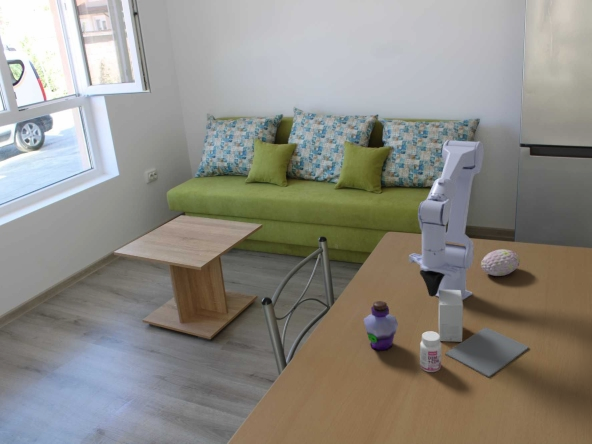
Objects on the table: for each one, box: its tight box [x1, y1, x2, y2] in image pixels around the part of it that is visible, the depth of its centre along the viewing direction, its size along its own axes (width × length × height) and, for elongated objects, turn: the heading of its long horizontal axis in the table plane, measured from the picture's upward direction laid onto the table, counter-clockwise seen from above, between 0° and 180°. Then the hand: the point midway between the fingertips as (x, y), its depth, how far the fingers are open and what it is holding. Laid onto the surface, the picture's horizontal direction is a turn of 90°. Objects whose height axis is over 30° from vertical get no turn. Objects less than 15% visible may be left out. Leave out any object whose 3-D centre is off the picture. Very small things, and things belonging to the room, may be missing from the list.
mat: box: [444, 326, 530, 378], centre depth 132 cm, size 12×16×1 cm
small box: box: [438, 290, 464, 343], centre depth 138 cm, size 8×6×10 cm
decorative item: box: [480, 248, 521, 277], centre depth 166 cm, size 9×11×10 cm
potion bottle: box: [363, 300, 399, 352], centre depth 136 cm, size 9×9×12 cm
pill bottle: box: [419, 330, 442, 373], centre depth 127 cm, size 5×5×8 cm
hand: (433, 294), depth 141 cm, fingers closed, pressing on small box
